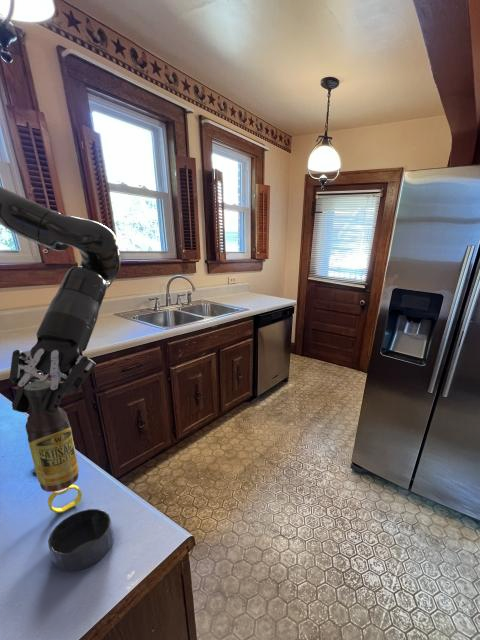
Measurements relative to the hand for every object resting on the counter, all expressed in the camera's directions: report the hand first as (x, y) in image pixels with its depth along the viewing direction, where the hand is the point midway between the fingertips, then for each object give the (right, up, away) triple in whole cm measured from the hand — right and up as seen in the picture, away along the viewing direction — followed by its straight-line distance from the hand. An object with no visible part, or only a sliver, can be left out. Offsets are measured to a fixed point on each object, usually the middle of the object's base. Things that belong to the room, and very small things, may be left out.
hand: (32, 412), depth 50 cm
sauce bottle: (-1, -14, +8) cm, 16 cm away
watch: (-7, -24, +19) cm, 31 cm away
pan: (+2, -28, +10) cm, 29 cm away
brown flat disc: (-20, -18, +30) cm, 40 cm away
